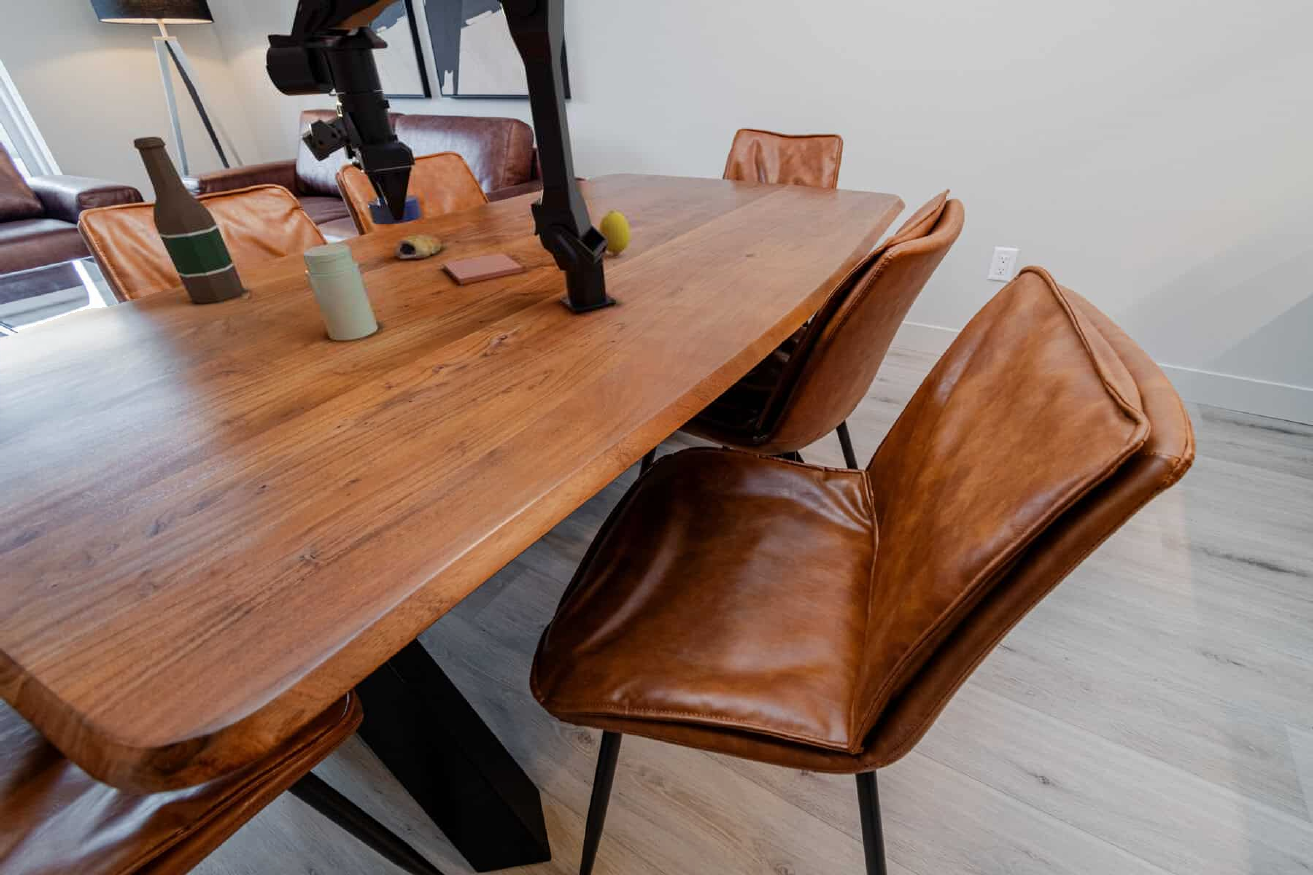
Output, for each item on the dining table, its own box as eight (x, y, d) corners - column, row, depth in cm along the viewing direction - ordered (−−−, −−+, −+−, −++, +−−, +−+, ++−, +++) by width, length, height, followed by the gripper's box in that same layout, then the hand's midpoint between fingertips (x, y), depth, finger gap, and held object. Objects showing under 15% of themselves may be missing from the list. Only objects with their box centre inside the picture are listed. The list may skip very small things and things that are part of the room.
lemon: (595, 258, 109) (591, 212, 105) (611, 250, 113) (607, 206, 109) (621, 261, 107) (618, 214, 103) (636, 253, 111) (633, 208, 107)
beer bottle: (219, 305, 97) (144, 140, 84) (180, 303, 98) (99, 142, 85) (255, 289, 103) (190, 134, 90) (218, 288, 105) (148, 135, 92)
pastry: (422, 246, 122) (417, 227, 120) (451, 247, 121) (446, 228, 119) (393, 259, 115) (388, 239, 113) (424, 261, 113) (419, 240, 111)
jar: (383, 331, 84) (358, 249, 77) (335, 344, 80) (304, 259, 74) (370, 319, 88) (345, 240, 82) (324, 331, 85) (294, 250, 79)
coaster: (523, 272, 104) (522, 266, 104) (460, 284, 100) (459, 279, 99) (503, 258, 112) (502, 252, 112) (444, 269, 108) (443, 263, 107)
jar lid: (389, 213, 90) (384, 195, 89) (430, 213, 89) (426, 194, 88) (362, 224, 85) (356, 205, 83) (406, 224, 84) (401, 205, 82)
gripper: (287, 96, 82) (326, 214, 90) (297, 98, 68) (342, 238, 76) (372, 90, 86) (402, 203, 95) (398, 91, 73) (430, 224, 81)
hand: (393, 216), depth 87 cm, fingers closed on jar lid, 7 cm apart
